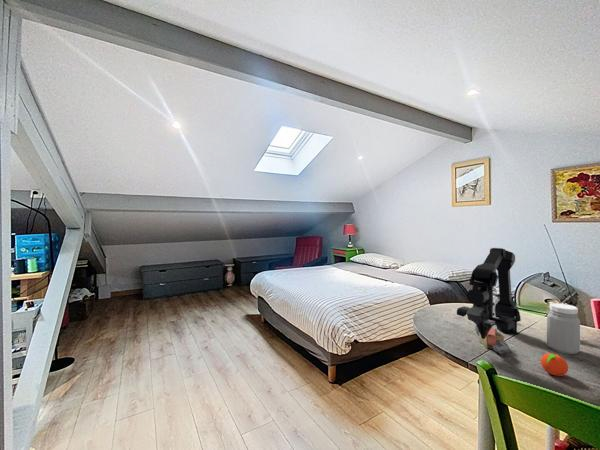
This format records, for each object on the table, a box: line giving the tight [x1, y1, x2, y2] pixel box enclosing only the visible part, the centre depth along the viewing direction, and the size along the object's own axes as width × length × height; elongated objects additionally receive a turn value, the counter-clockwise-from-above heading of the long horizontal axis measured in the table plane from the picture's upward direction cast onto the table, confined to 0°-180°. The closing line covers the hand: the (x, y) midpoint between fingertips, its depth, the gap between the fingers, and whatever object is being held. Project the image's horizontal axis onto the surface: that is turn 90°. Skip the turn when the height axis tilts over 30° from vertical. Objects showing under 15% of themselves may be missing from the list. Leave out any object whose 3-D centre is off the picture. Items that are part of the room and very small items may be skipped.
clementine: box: [540, 352, 569, 377], centre depth 93 cm, size 8×7×7 cm
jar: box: [546, 302, 581, 355], centre depth 110 cm, size 10×10×18 cm
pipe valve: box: [474, 325, 511, 356], centre depth 114 cm, size 20×6×6 cm, turn 170°
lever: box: [487, 327, 498, 346], centre depth 109 cm, size 16×4×3 cm, turn 145°
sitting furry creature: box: [493, 295, 500, 318], centre depth 147 cm, size 10×9×12 cm
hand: (483, 338), depth 107 cm, fingers closed
